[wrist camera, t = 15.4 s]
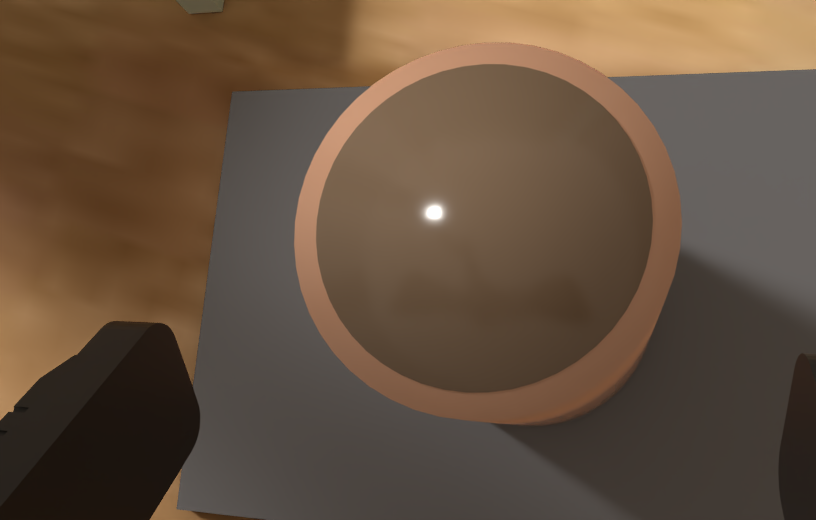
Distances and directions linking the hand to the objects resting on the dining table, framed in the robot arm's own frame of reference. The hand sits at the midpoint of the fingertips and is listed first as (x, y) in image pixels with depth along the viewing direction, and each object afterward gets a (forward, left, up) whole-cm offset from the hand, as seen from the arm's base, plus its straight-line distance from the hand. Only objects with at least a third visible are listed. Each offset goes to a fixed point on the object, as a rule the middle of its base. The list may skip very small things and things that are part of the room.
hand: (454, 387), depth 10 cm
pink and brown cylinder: (0, +3, -9) cm, 10 cm away
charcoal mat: (0, +3, -10) cm, 10 cm away
